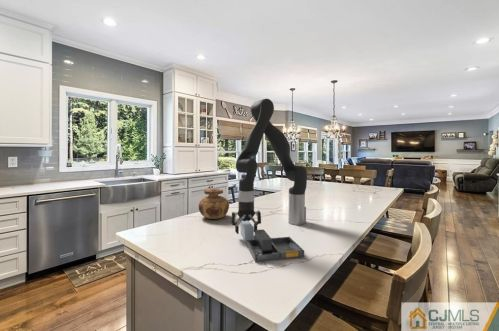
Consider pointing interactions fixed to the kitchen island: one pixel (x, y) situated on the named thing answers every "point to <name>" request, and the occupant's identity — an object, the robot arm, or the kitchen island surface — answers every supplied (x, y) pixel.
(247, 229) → the panel
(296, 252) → the dark grey tray
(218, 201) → the clay pot
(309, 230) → the kitchen island surface
